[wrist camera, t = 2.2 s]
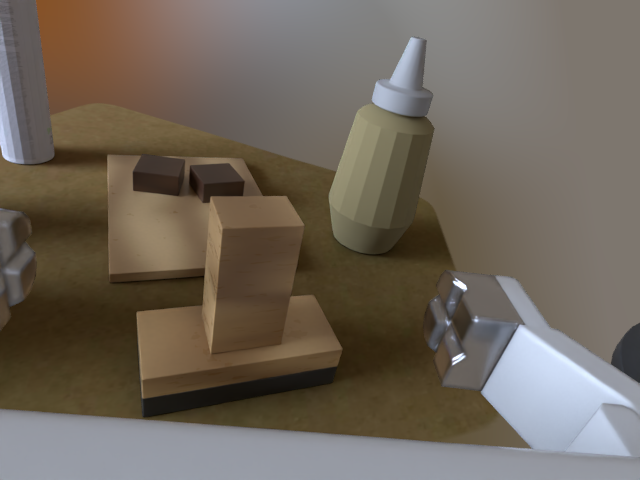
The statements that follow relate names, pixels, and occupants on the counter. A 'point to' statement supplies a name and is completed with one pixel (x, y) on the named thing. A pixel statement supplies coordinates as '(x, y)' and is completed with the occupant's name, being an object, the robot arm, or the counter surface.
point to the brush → (238, 317)
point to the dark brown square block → (215, 181)
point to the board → (159, 223)
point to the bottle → (23, 86)
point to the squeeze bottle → (384, 160)
